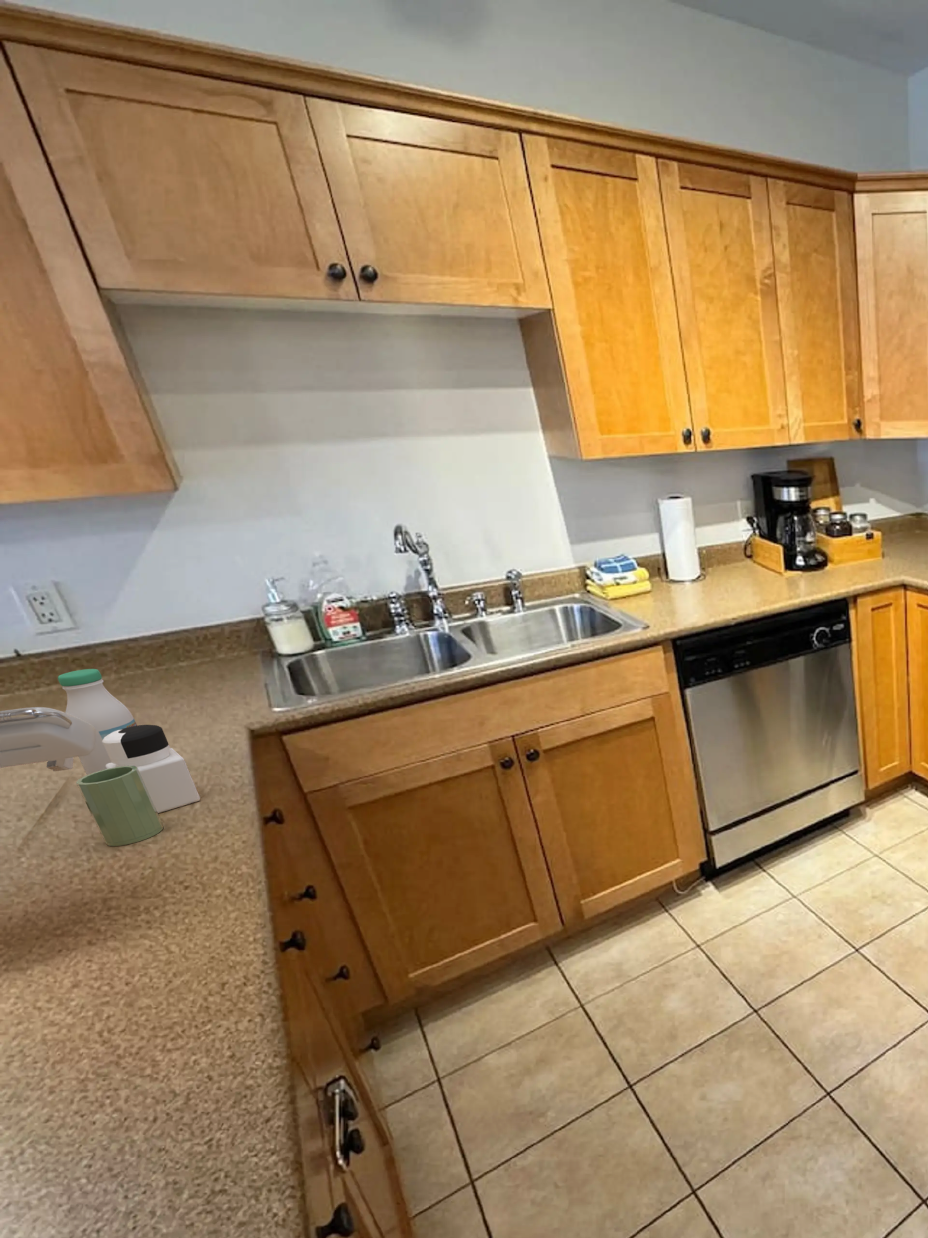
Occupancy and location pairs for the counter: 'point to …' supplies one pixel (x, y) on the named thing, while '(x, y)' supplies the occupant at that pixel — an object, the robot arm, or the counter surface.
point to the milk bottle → (94, 712)
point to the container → (153, 764)
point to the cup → (120, 805)
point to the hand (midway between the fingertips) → (11, 772)
